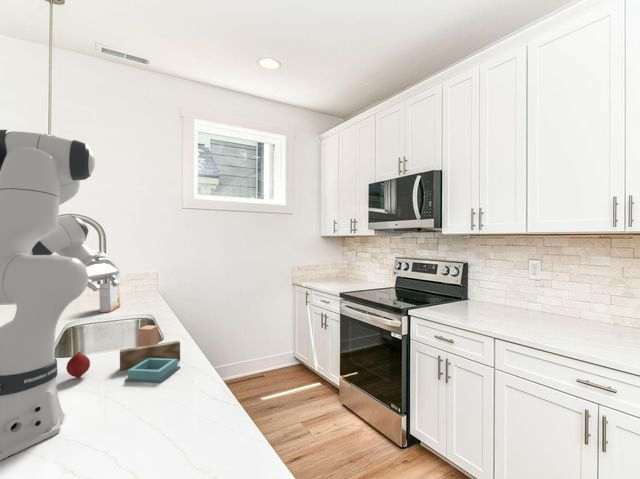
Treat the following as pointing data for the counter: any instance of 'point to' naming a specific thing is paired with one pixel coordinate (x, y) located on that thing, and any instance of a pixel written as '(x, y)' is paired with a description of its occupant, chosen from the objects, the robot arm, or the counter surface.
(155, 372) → the tray
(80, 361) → the onion
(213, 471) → the counter surface
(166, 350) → the walnut board
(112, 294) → the cracker box
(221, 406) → the counter surface
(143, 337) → the block
